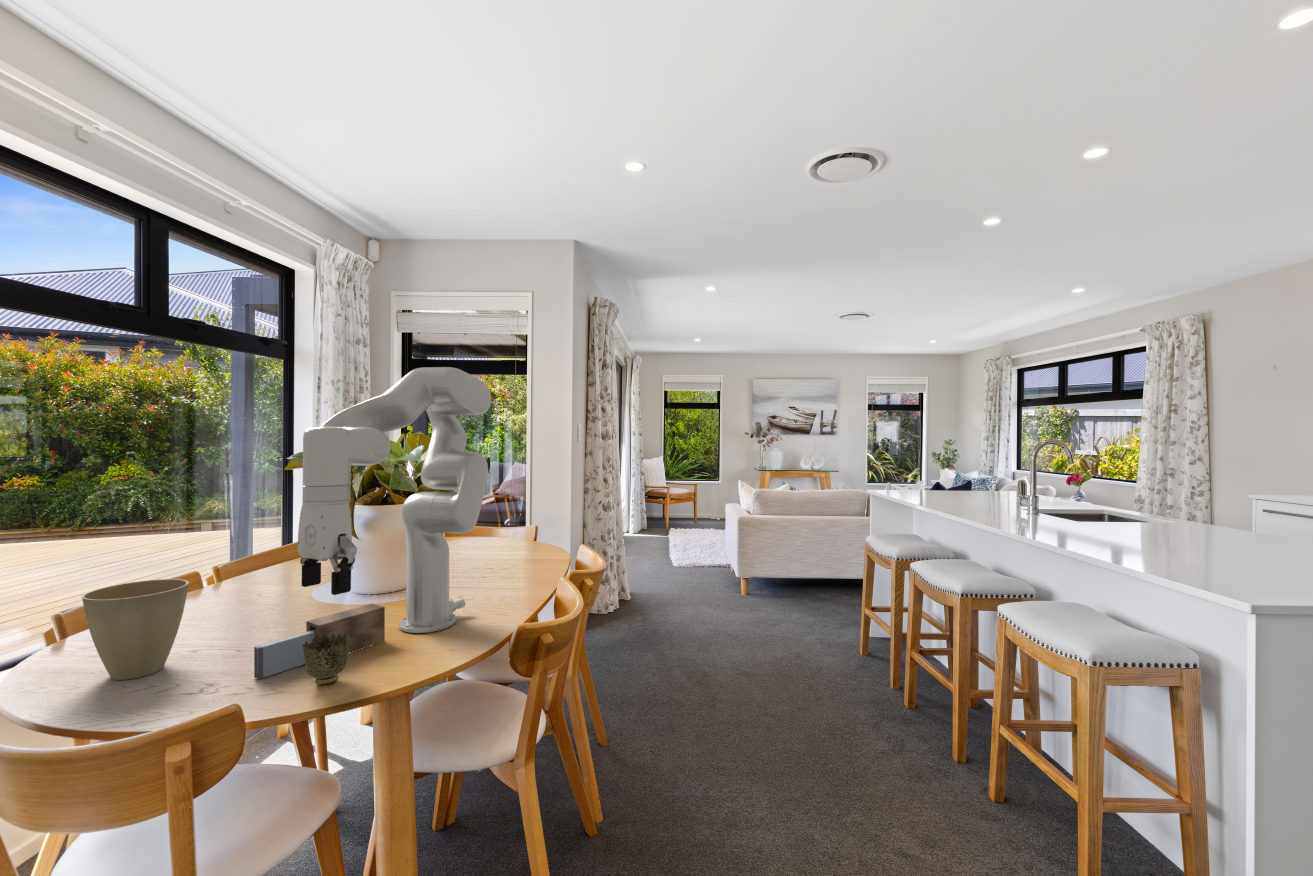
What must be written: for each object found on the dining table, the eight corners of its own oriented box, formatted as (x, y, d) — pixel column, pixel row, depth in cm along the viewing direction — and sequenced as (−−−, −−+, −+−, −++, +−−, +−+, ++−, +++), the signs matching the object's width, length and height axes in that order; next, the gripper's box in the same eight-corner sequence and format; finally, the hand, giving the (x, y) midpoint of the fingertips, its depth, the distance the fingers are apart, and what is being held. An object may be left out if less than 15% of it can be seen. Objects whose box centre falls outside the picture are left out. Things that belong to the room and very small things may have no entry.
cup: (328, 695, 98) (328, 649, 98) (292, 690, 100) (292, 645, 100) (359, 676, 105) (359, 634, 105) (325, 673, 107) (325, 631, 107)
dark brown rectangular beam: (372, 637, 126) (372, 603, 126) (384, 641, 123) (384, 606, 123) (306, 658, 114) (306, 621, 114) (318, 663, 111) (318, 625, 111)
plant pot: (208, 660, 113) (208, 580, 113) (122, 693, 98) (122, 602, 98) (150, 653, 116) (150, 576, 116) (60, 684, 102) (59, 596, 101)
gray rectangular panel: (330, 652, 116) (330, 624, 116) (334, 653, 115) (334, 626, 115) (254, 677, 104) (254, 646, 104) (258, 679, 103) (258, 648, 103)
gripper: (279, 493, 103) (279, 586, 103) (332, 499, 94) (331, 601, 94) (321, 490, 110) (320, 578, 110) (374, 496, 101) (373, 591, 101)
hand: (325, 589), depth 102 cm, fingers open, 9 cm apart
